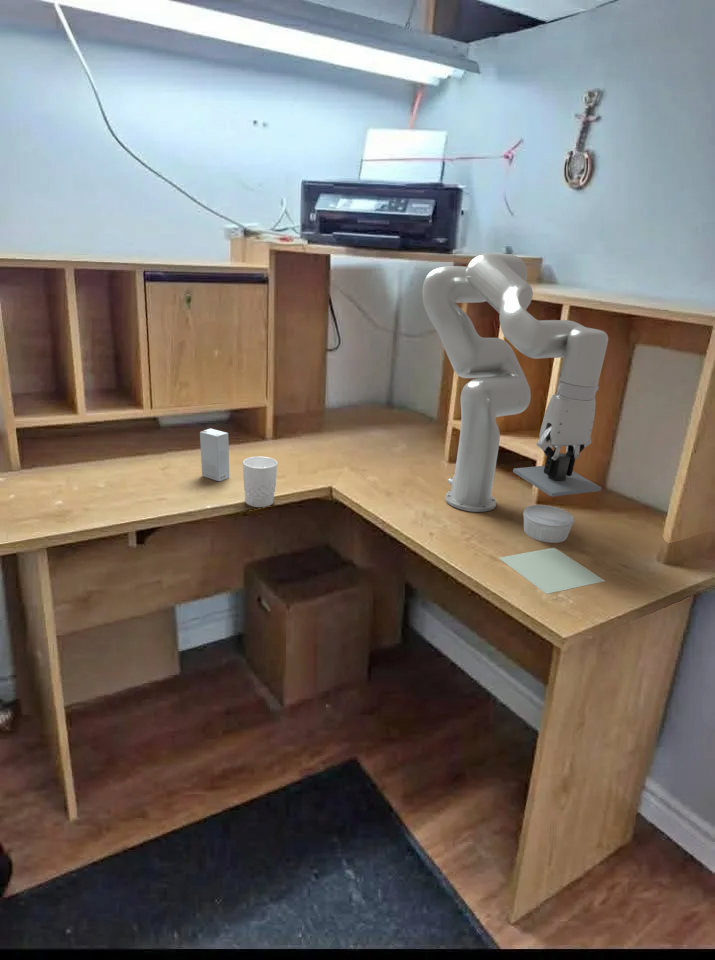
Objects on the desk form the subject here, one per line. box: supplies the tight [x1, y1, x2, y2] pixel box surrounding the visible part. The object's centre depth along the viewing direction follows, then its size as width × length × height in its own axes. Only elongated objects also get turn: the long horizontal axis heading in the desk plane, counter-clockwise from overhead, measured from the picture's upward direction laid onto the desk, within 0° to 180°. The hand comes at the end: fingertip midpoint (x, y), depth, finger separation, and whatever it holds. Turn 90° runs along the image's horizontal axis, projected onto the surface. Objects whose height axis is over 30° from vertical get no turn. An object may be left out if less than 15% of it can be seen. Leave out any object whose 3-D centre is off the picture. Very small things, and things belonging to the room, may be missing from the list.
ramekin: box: [522, 504, 575, 544], centre depth 151 cm, size 11×11×5 cm
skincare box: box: [199, 428, 231, 482], centre depth 168 cm, size 6×4×12 cm
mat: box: [498, 547, 606, 595], centre depth 135 cm, size 15×15×1 cm
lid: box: [512, 452, 603, 497], centre depth 141 cm, size 13×13×6 cm
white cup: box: [242, 456, 278, 508], centre depth 156 cm, size 8×8×10 cm
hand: (557, 473), depth 141 cm, fingers closed on lid, 3 cm apart
